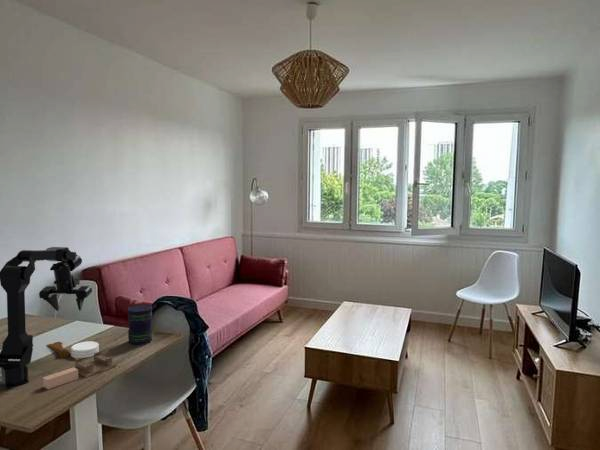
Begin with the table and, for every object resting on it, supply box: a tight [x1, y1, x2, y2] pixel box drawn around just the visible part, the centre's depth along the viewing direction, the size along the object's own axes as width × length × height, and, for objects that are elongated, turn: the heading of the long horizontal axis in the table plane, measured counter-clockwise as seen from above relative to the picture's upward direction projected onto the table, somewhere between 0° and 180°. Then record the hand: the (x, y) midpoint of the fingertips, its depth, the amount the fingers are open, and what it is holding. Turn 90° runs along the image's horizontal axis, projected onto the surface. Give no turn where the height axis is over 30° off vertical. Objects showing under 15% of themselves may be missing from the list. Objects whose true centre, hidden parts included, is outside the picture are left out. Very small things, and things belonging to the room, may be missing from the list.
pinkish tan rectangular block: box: [42, 366, 79, 390], centre depth 139 cm, size 10×3×4 cm, turn 144°
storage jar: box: [127, 304, 153, 346], centre depth 177 cm, size 10×10×15 cm
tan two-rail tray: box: [73, 351, 117, 378], centre depth 150 cm, size 11×10×4 cm
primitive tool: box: [46, 341, 70, 359], centre depth 166 cm, size 19×6×4 cm, turn 46°
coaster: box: [70, 340, 100, 359], centre depth 163 cm, size 10×10×4 cm
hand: (69, 310), depth 170 cm, fingers open, 9 cm apart
